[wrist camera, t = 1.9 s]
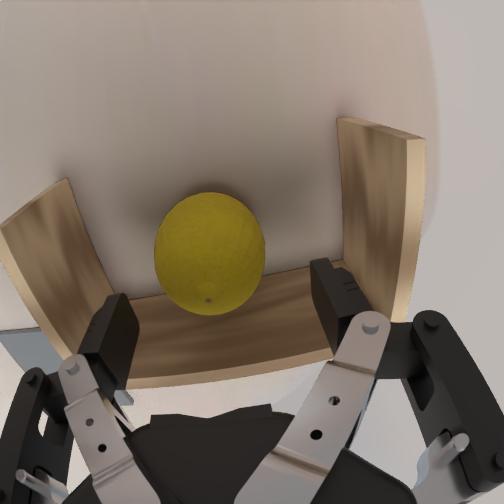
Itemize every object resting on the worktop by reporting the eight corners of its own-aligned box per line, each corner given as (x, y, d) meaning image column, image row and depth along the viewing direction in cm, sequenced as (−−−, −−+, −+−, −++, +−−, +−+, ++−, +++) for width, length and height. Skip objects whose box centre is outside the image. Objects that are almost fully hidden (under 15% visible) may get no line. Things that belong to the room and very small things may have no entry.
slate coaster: (-2, 331, 21) (-5, 335, 21) (77, 323, 22) (75, 327, 21) (55, 399, 28) (53, 403, 27) (133, 400, 28) (133, 405, 27)
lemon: (152, 233, 18) (121, 317, 12) (194, 158, 16) (176, 209, 10) (225, 269, 20) (232, 361, 14) (272, 204, 18) (306, 278, 12)
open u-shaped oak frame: (55, 182, 16) (-12, 234, 9) (351, 117, 16) (426, 138, 10) (113, 313, 21) (88, 390, 15) (355, 268, 22) (400, 337, 15)
